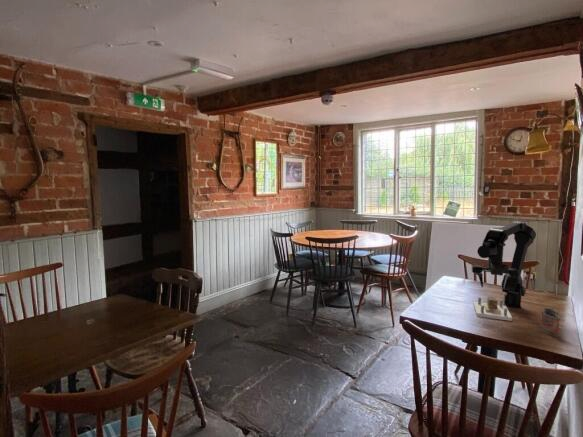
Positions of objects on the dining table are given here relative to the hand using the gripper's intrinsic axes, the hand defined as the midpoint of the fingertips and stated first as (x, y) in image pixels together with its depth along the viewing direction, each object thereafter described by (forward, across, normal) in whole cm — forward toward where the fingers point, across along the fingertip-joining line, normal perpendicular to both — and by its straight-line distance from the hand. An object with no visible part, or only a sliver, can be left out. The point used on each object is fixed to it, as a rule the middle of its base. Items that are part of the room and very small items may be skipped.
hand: (493, 288), depth 165 cm
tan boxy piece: (+10, 0, 0) cm, 10 cm away
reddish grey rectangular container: (+12, +19, -15) cm, 27 cm away
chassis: (+12, 0, 0) cm, 12 cm away
